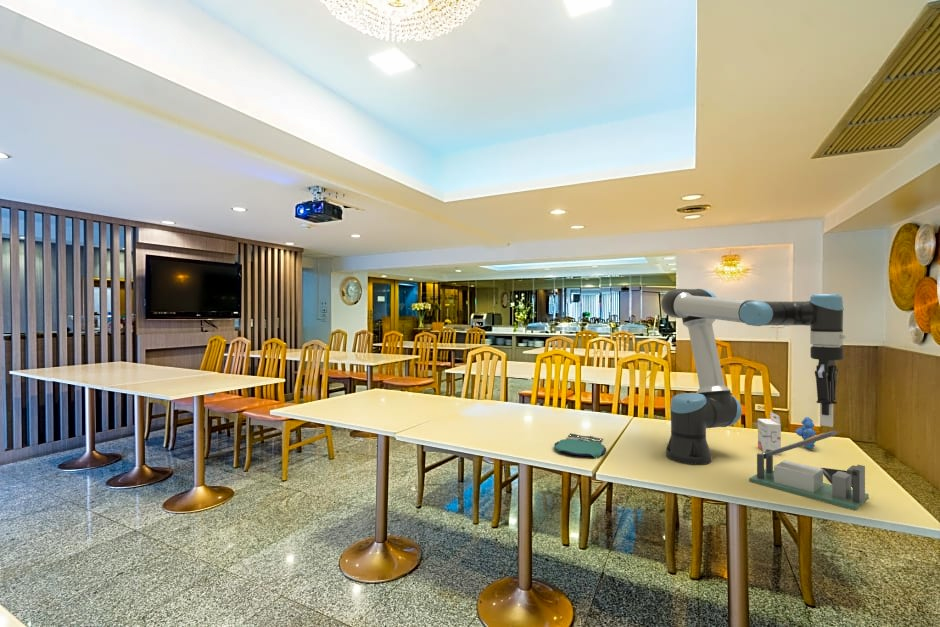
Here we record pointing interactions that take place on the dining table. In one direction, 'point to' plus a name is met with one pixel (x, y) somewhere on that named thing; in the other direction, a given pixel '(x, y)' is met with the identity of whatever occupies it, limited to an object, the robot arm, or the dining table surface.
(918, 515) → the dining table surface
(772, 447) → the ink cartridge box
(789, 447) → the clamp bar
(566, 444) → the teal clutch purse
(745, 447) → the dining table surface
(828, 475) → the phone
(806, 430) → the grapes
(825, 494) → the clamp fixture base
